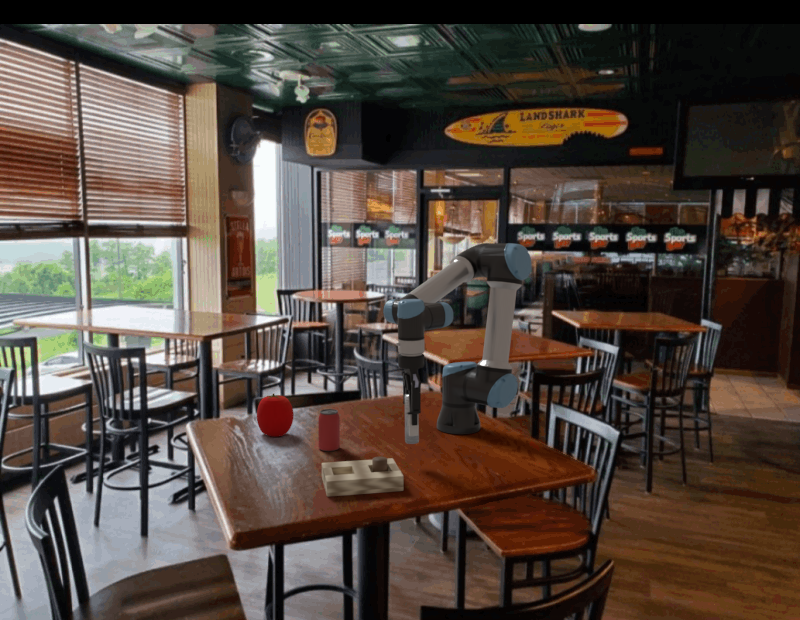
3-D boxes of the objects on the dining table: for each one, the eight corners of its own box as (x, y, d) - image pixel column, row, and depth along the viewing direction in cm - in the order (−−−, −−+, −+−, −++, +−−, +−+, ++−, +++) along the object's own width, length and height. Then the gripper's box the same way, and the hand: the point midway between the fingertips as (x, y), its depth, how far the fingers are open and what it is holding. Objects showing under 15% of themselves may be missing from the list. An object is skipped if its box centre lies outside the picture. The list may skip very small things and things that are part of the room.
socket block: (392, 471, 183) (392, 449, 182) (403, 490, 169) (403, 466, 169) (321, 476, 179) (321, 454, 178) (326, 496, 165) (326, 472, 164)
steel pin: (417, 438, 190) (416, 392, 188) (420, 443, 186) (419, 396, 184) (403, 440, 189) (403, 393, 187) (406, 444, 185) (406, 396, 184)
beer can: (336, 452, 199) (336, 414, 197) (315, 451, 200) (315, 413, 199) (342, 446, 205) (342, 409, 204) (322, 444, 206) (322, 407, 205)
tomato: (249, 437, 213) (248, 395, 212) (268, 427, 224) (267, 387, 222) (281, 442, 209) (281, 399, 207) (300, 432, 219) (299, 391, 217)
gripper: (392, 348, 192) (393, 425, 195) (404, 360, 175) (405, 443, 178) (416, 347, 193) (417, 423, 196) (431, 358, 177) (432, 441, 180)
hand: (411, 432), depth 187 cm, fingers closed on steel pin, 4 cm apart
